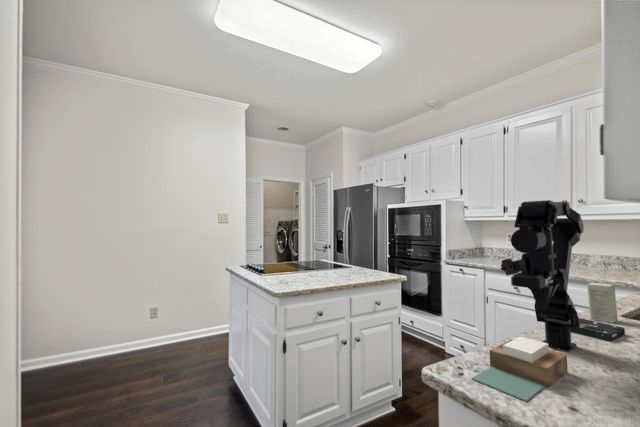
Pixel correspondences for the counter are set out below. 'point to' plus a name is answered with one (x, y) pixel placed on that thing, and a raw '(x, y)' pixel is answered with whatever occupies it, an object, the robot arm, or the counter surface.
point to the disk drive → (598, 330)
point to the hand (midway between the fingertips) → (542, 310)
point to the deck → (531, 366)
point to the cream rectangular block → (526, 349)
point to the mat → (509, 383)
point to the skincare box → (602, 302)
